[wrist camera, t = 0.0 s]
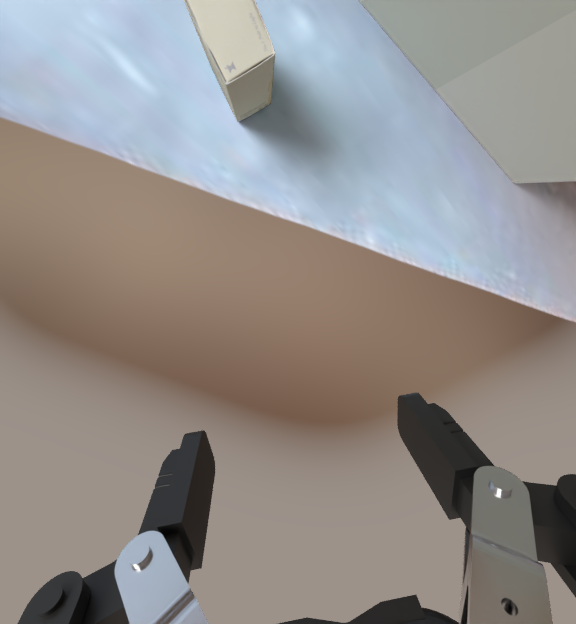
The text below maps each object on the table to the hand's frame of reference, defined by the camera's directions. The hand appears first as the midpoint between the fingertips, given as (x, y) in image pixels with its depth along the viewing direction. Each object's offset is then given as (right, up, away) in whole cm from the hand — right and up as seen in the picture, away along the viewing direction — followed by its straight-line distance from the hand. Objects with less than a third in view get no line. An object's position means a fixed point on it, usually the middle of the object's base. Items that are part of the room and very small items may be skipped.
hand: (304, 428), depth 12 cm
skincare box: (-6, +29, +19) cm, 36 cm away
